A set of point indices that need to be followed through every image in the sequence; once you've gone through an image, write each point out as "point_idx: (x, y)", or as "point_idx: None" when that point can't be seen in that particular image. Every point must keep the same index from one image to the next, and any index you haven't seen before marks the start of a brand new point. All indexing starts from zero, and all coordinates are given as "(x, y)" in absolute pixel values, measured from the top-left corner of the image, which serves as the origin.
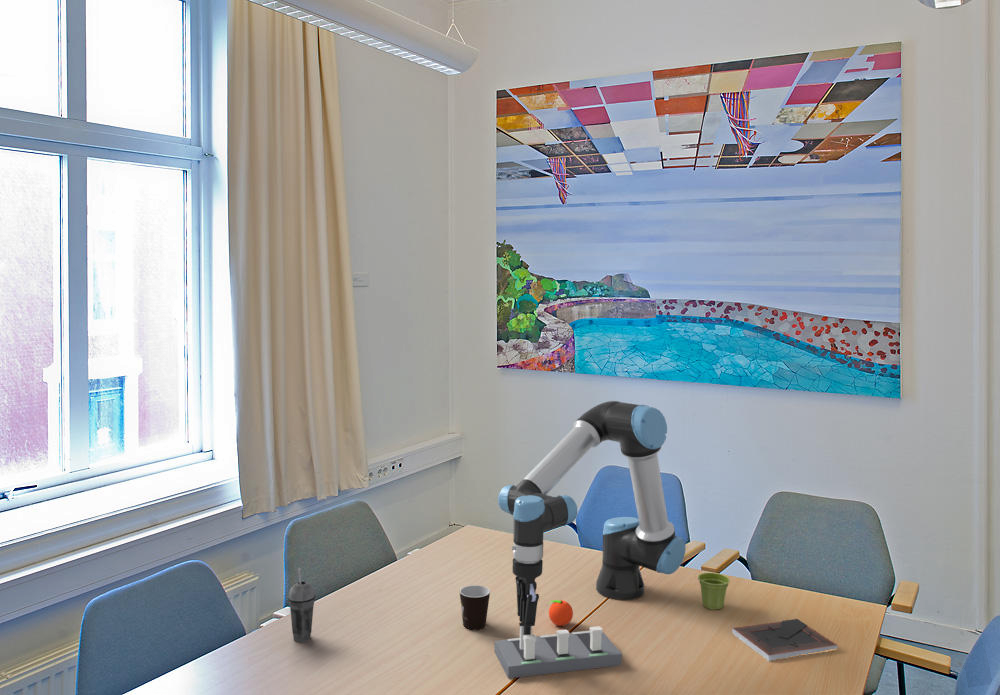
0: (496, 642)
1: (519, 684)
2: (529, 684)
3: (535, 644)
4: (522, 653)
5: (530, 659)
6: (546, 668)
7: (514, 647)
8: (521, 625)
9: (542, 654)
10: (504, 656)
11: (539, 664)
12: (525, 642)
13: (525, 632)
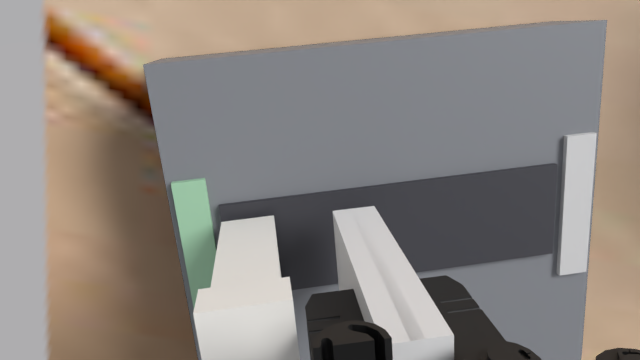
0: (577, 32)
1: (73, 125)
2: (73, 191)
3: None
4: None
5: None
6: None
7: (461, 166)
8: (314, 355)
9: None
10: (327, 60)
11: (190, 306)
12: (198, 292)
13: (311, 341)
